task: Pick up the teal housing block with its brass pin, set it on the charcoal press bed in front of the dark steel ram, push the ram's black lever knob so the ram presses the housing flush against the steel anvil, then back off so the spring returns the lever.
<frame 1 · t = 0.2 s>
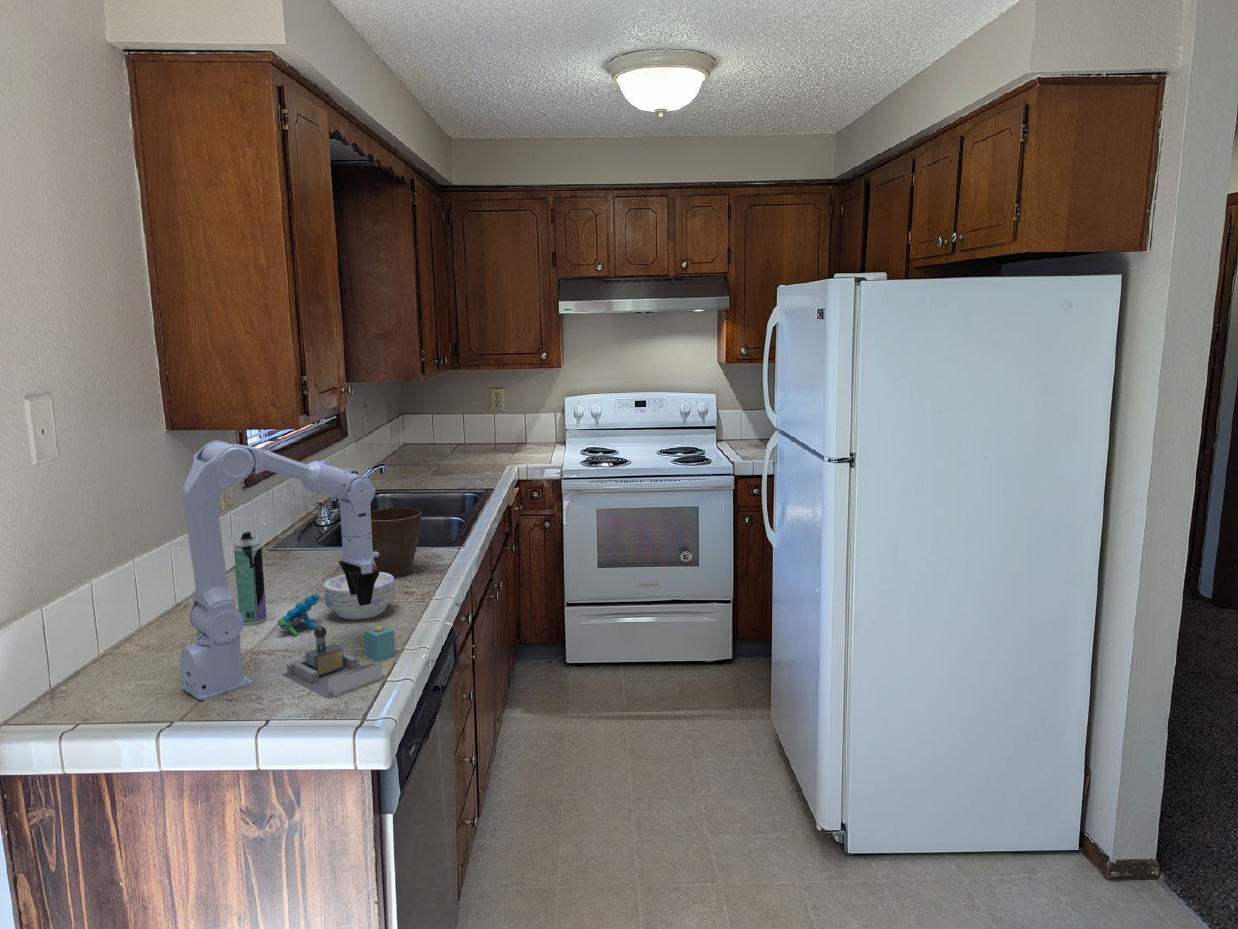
hand: (360, 599, 170), 10 cm above the countertop, tool pointing down, fingers open, 7 cm apart
housing: (380, 657, 165), on the countertop
spray can: (253, 621, 185), on the countertop
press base: (334, 677, 156), on the countertop
plant pot: (394, 574, 220), on the countertop
paper bowls: (361, 614, 190), on the countertop
blue toy water gun: (299, 629, 181), on the countertop
ram: (323, 649, 157), point 5 cm above the countertop, slide at 0.0 cm
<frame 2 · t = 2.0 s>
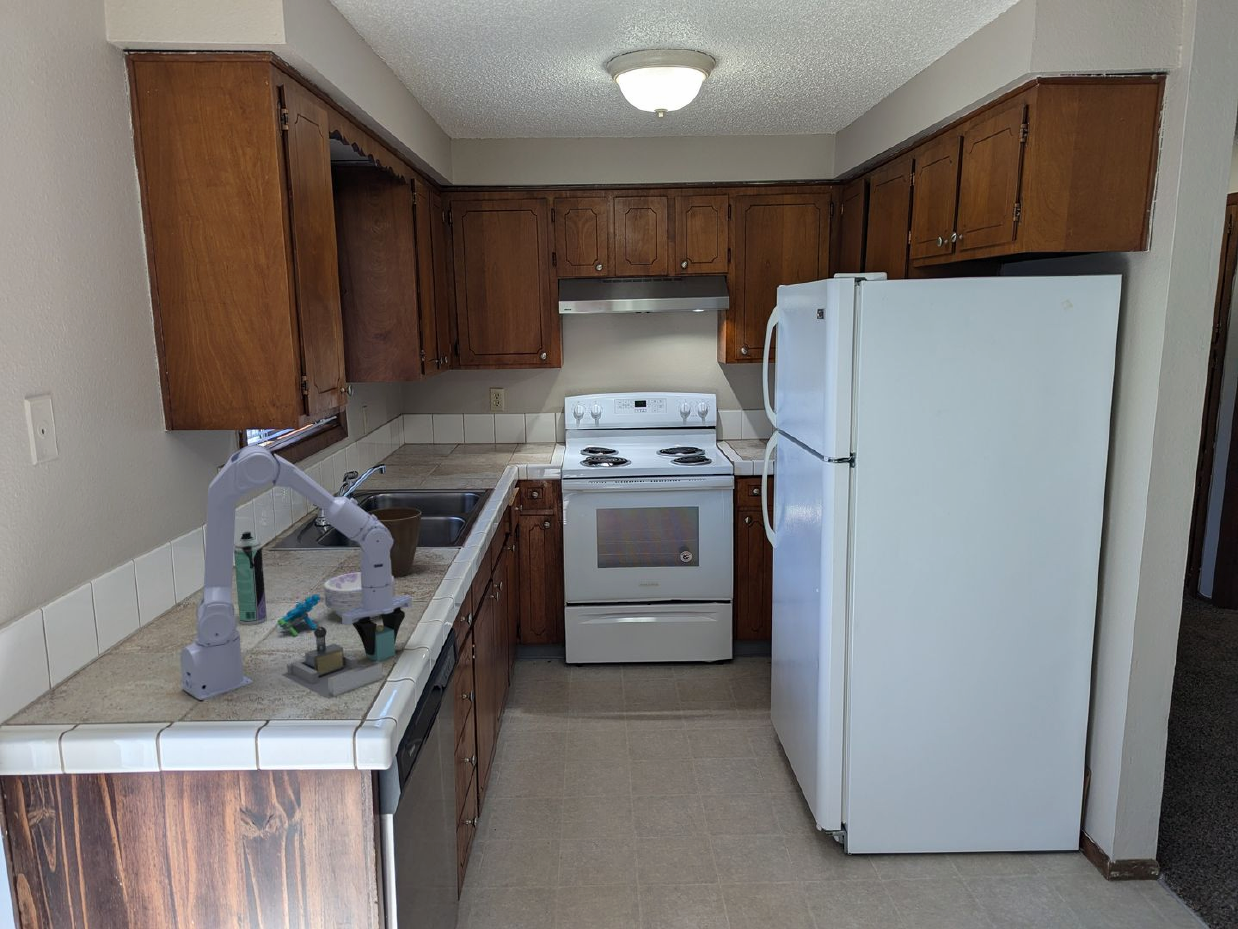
hand: (380, 650, 165), 1 cm above the countertop, tool pointing down, fingers closed on housing, 4 cm apart
housing: (380, 657, 165), on the countertop, touching gripper
everything else where it was.
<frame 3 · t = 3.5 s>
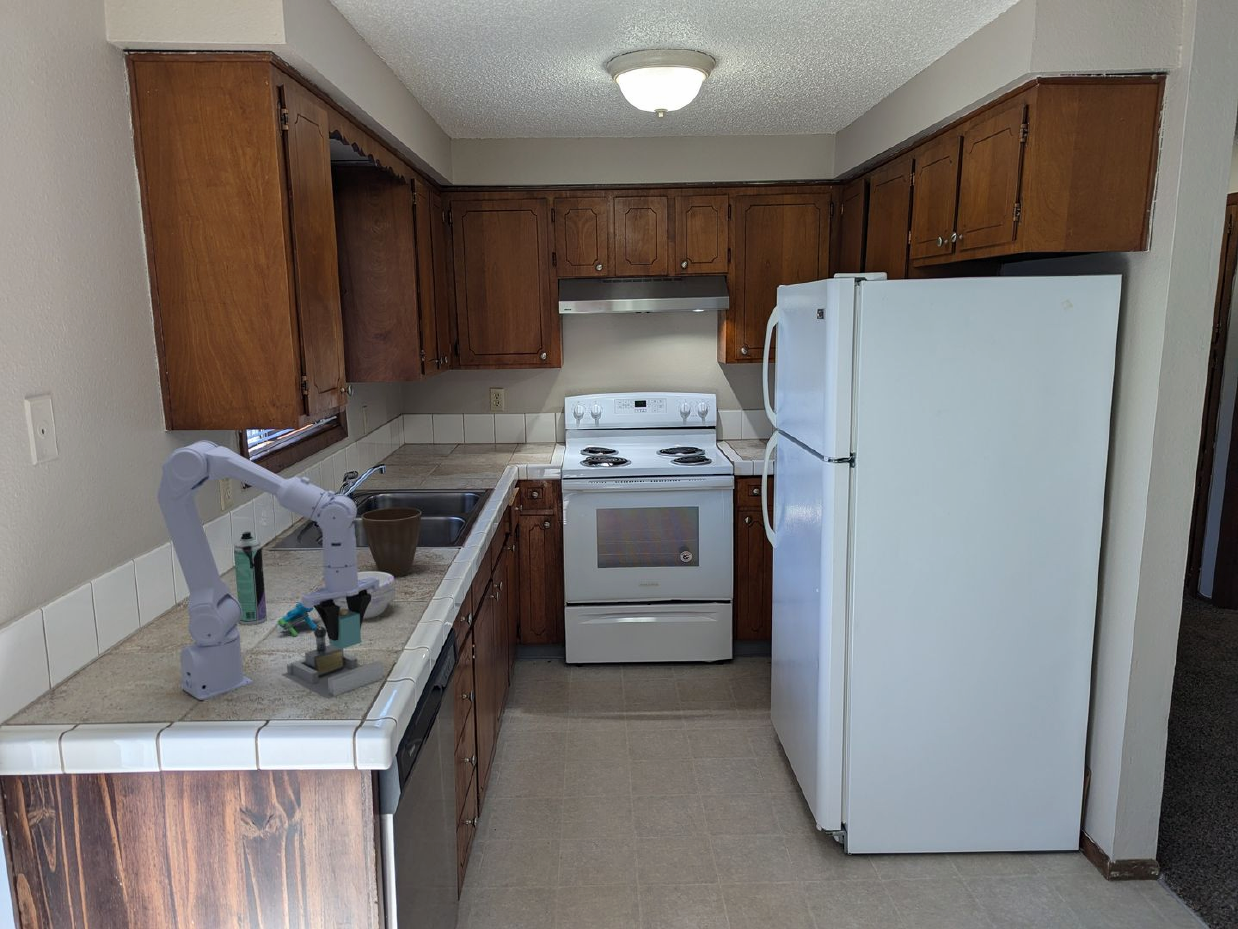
hand: (344, 635, 154), 8 cm above the countertop, tool pointing down, fingers closed on housing, 4 cm apart
housing: (345, 643, 154), point 7 cm above the countertop, touching gripper
everything else where it was.
when the fingers open (3 cm above the countertop, at t = 5.1 s): housing drops 1 cm, resting on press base.
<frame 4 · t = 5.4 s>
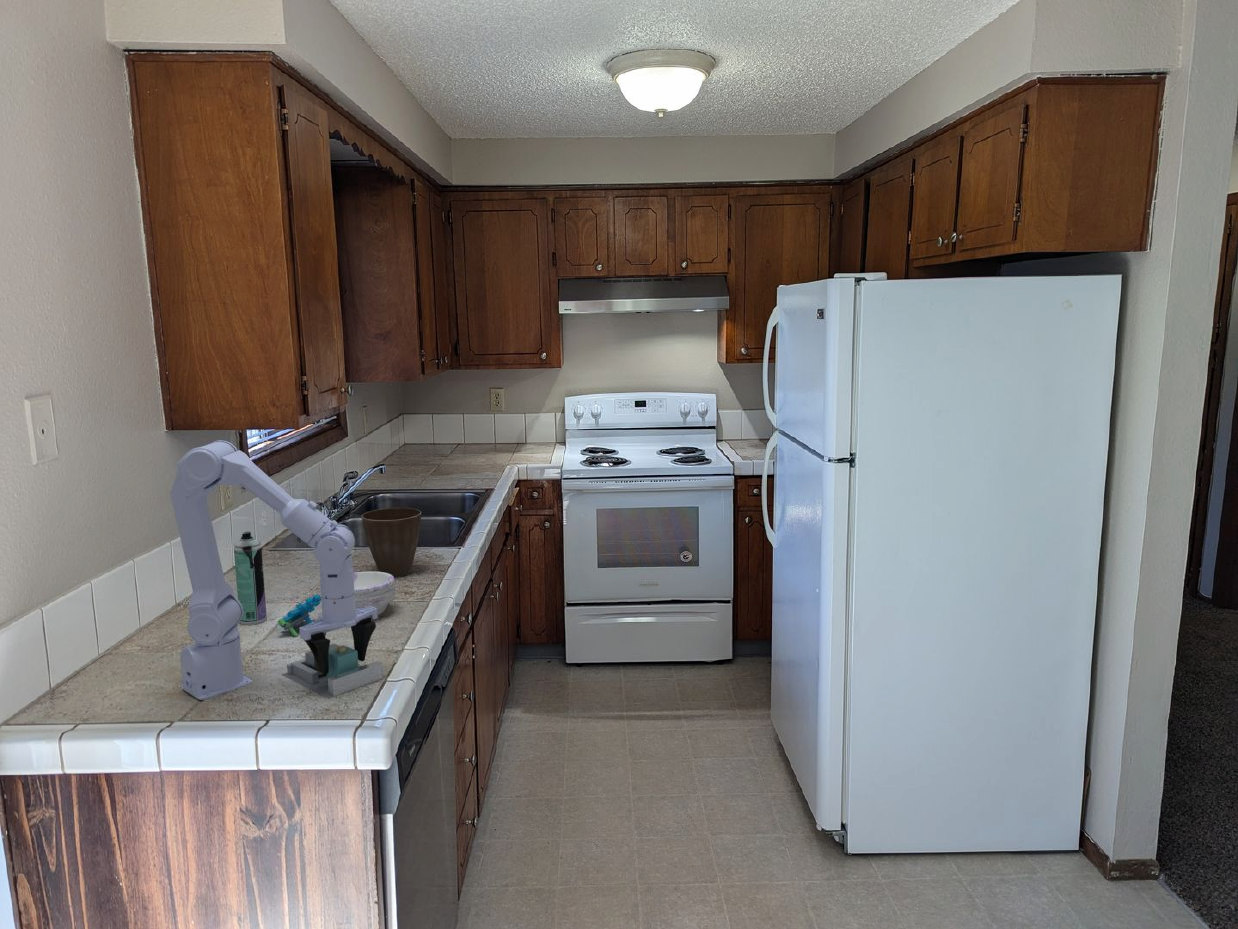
hand: (342, 665, 153), 3 cm above the countertop, tool pointing down, fingers open, 7 cm apart
housing: (343, 680, 154), resting on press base
everything else where it was.
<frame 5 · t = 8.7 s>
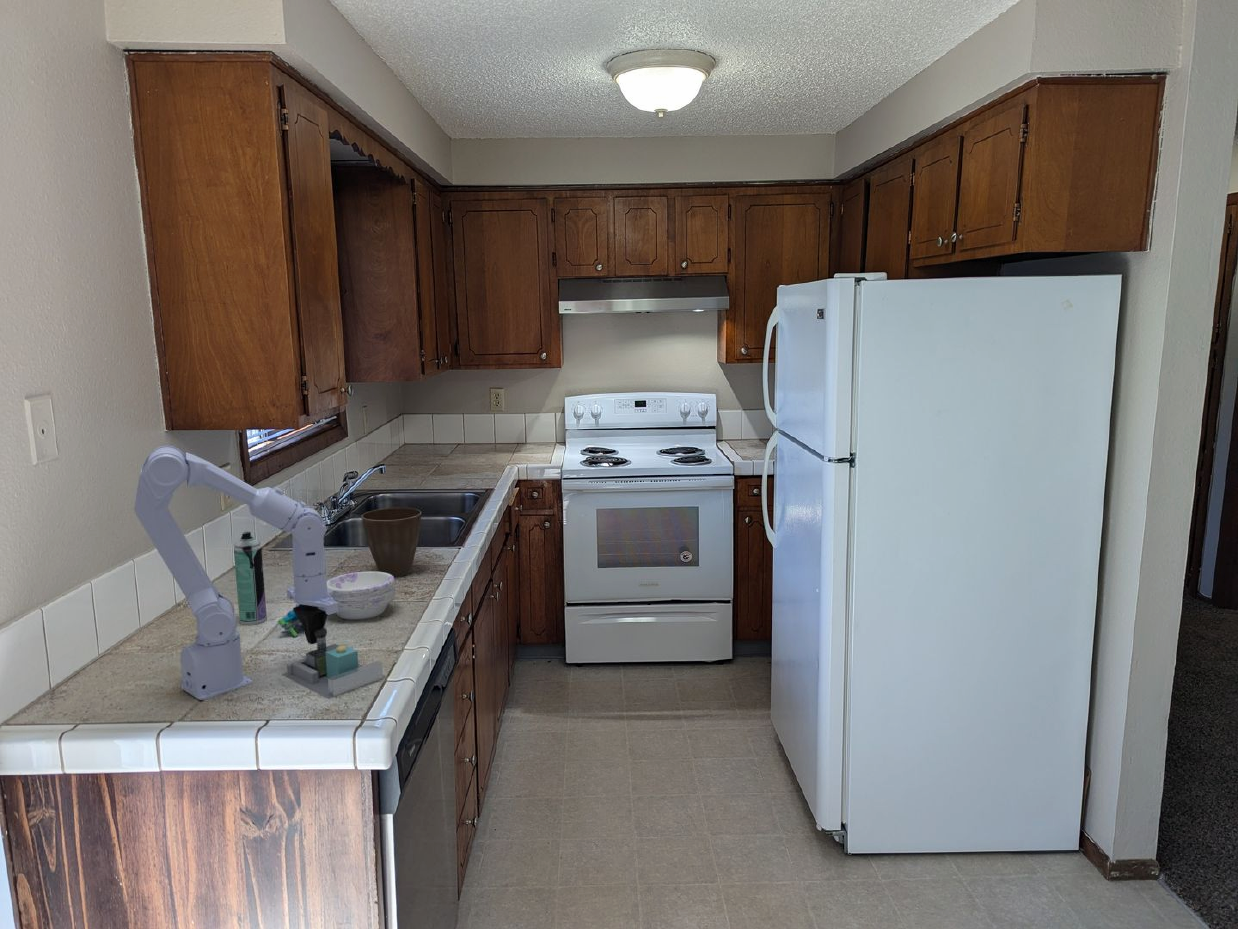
hand: (314, 642, 159), 5 cm above the countertop, tool pointing down, fingers closed
ram: (324, 649, 157), point 5 cm above the countertop, slide at 0.2 cm, touching gripper
everything else where it was.
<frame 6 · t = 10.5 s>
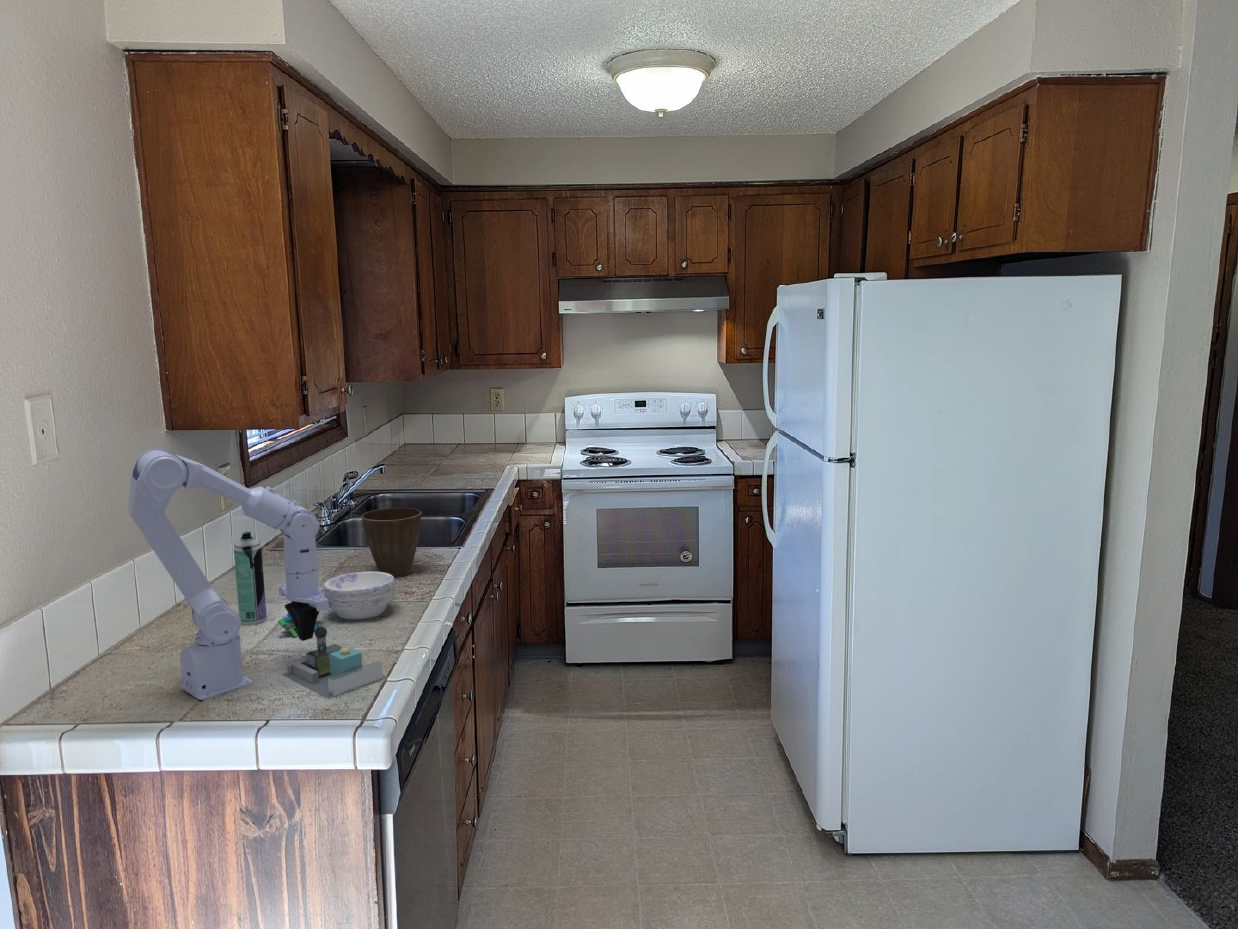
hand: (306, 638, 161), 5 cm above the countertop, tool pointing down, fingers closed
housing: (347, 681, 153), resting on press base
ram: (324, 649, 157), point 5 cm above the countertop, slide at 0.2 cm
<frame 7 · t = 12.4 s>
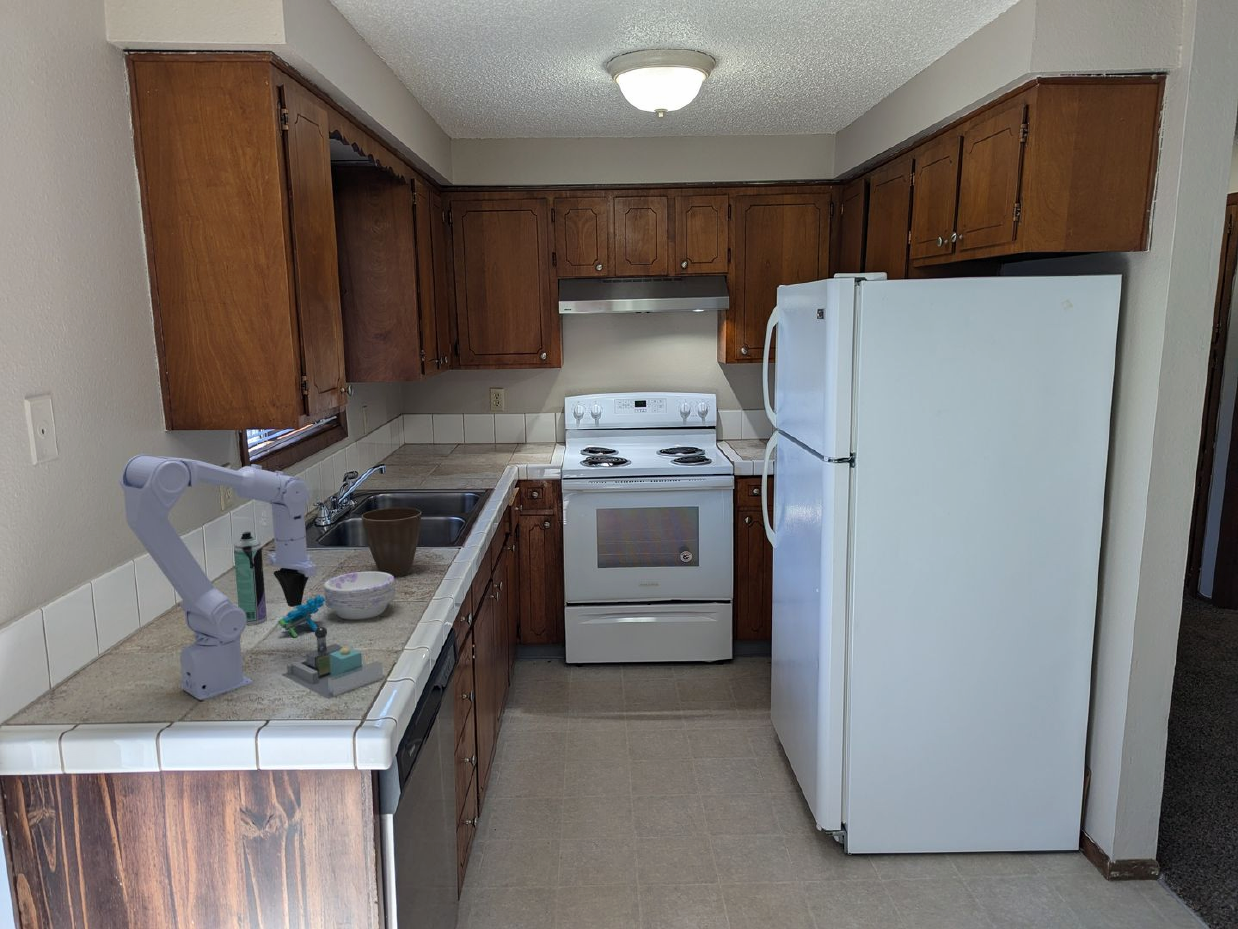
hand: (294, 605, 164), 10 cm above the countertop, tool pointing down, fingers closed
at the end: housing 0.2 cm from the target spot, resting on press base; ram slide at 0.2 cm; housing tilted 0° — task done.
